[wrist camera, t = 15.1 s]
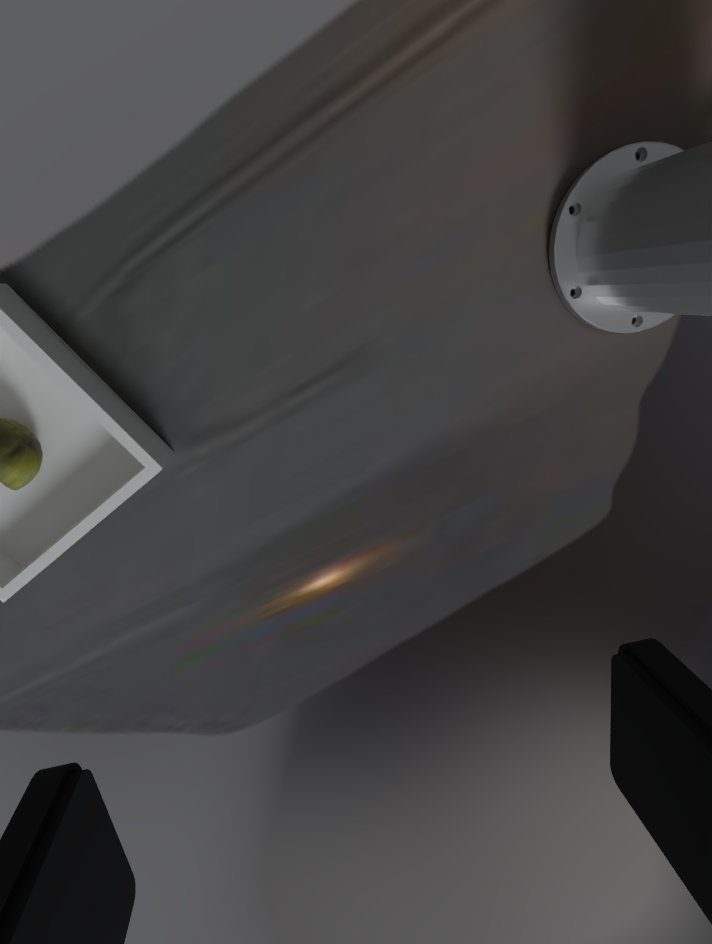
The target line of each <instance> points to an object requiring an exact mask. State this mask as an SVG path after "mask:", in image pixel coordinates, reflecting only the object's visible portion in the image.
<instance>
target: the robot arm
mask: <svg viewBox="0 0 712 944" xmlns="http://www.w3.org/2000/svg"><path fill="white" fill-rule="evenodd" d="M635 155H636V157H635ZM569 207H570V208H571V214H570V212H569ZM549 262H550V271H551V276H552V279H553V282H554V286H555V289H556V291H557V293H558V295H559V296H560V298H561V300H562V302H563V304H564V305H565V306H566V307H567V308H568V310H569V311H570V312H571V313H572V314H573V315H574V316H575V317H577V318H578V319H579V320H581V321H582V322H583V323H585V324H587V325H589V326H591V327H593V328H596V329H599V330H603V331H608V332H617V333H631V332H639V331H642V330H645V329H649V328H652V327H655V326H657V325H658V324H660V323H662V322H664V321H666V320H668V319H669V318H671V317H672V316H673V315H675V314H691V315H712V141H710V142H707V143H704V144H701V145H699V146H696V147H693V148H690V149H688V150H683V149H681V148H679V147H678V146H675V145H672V144H668V143H664V142H657V141H643V142H638V143H633V144H628V145H626V146H623V147H621V148H618V149H616V150H613V151H611V152H610V153H608V154H606V155H604V156H602V157H601V158H599V159H597V160H596V161H595V162H593V163H592V164H591V165H590V166H589V167H587V168H586V169H585V170H584V171H583V172H582V173H581V174H580V175H579V177H578V178H577V179H576V180H575V181H574V182H573V184H572V185H571V186H570V188H569V189H568V191H567V193H566V194H565V196H564V198H563V199H562V201H561V203H560V206H559V208H558V211H557V213H556V216H555V218H554V222H553V226H552V230H551V235H550V244H549ZM571 290H572V295H570V292H571ZM610 737H611V739H610V741H611V742H610V767H611V771H612V775H613V777H614V780H615V782H616V784H617V786H618V788H619V789H620V791H621V792H622V793H623V795H624V796H625V798H626V799H627V801H628V802H629V804H630V805H631V807H632V808H633V810H634V811H635V813H636V814H637V815H638V817H639V819H640V820H641V821H642V823H643V824H644V826H645V827H646V829H647V830H648V832H649V833H650V835H651V836H652V838H653V839H654V840H655V842H656V843H657V845H658V846H659V848H660V849H661V851H662V852H663V854H664V855H665V857H666V858H667V860H668V861H669V862H670V864H671V865H672V867H673V868H674V870H675V871H676V873H677V874H678V876H679V877H680V879H681V880H682V882H683V883H684V884H685V886H686V887H687V889H688V890H689V892H690V893H691V895H692V896H693V898H694V899H695V901H696V902H697V903H698V905H699V906H700V908H701V909H702V911H703V912H704V914H705V915H706V917H707V918H708V920H709V921H710V923H711V924H712V690H711V689H710V688H709V687H708V686H707V685H706V684H704V682H703V681H701V680H700V679H699V678H698V677H697V676H696V675H695V674H694V673H693V672H692V671H690V669H688V668H687V667H686V666H685V665H684V664H683V663H682V662H681V661H680V660H679V659H677V658H676V657H675V656H674V655H673V654H672V653H671V652H670V651H669V650H668V649H667V648H666V647H665V646H663V645H662V644H661V643H660V642H659V641H657V640H656V639H652V638H650V639H645V640H640V641H636V642H631V643H626V644H623V645H621V646H620V647H619V651H618V654H616V655H613V657H612V661H611V734H610ZM134 900H135V878H134V875H133V872H132V870H131V867H130V865H129V862H128V860H127V857H126V855H125V853H124V850H123V848H122V845H121V843H120V840H119V838H118V836H117V833H116V831H115V828H114V826H113V823H112V821H111V818H110V816H109V814H108V811H107V809H106V806H105V804H104V801H103V799H102V796H101V794H100V791H99V789H98V787H97V784H96V782H95V779H94V777H93V774H92V773H91V771H90V770H88V769H86V770H82V769H81V767H80V766H79V764H77V763H70V764H65V765H61V766H56V767H51V768H47V769H42V770H39V771H38V772H37V773H35V775H34V777H33V778H32V779H31V781H30V783H29V785H28V787H27V789H26V791H25V793H24V795H23V797H22V799H21V801H20V803H19V805H18V807H17V808H16V810H15V812H14V814H13V816H12V818H11V820H10V822H9V824H8V826H7V828H6V830H5V832H4V833H3V835H2V837H1V840H0V944H124V942H125V938H126V933H127V929H128V925H129V921H130V917H131V913H132V909H133V905H134Z"/></svg>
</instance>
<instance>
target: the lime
mask: <svg viewBox="0 0 712 944" xmlns="http://www.w3.org/2000/svg"><path fill="white" fill-rule="evenodd" d="M42 458H43V452H42V449H41V444H40V442H39V440H38V439H37V438H36V437H35V435H34V434H33V433H32V432H31V431H30V430H29V429H28V428H27V427H26V426H24V425H22V424H21V423H19V422H17V421H14V420H11V419H3V418H0V482H1V483H3V485H5V486H6V487H8V488H10V489H12V490H19V489H21V488H22V487H24V486H25V485H27V484H28V483H29V482H30V481H32V480H33V479H34V478H35V476H36V475H37V474H38V472H39V470H40V467H41V463H42Z"/></svg>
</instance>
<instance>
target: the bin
mask: <svg viewBox="0 0 712 944" xmlns="http://www.w3.org/2000/svg"><path fill="white" fill-rule="evenodd" d="M0 418H3V419H11V420H14V421H17V422H19V423H21V424H22V425H24V426H26V427H27V428H28V429H29V430H30V431H31V432H32V433H33V434H34V435H35V437H36V438H37V439H38V440H39V442H40V444H41V449H42V452H43V458H42V463H41V467H40V470H39V472H38V474H37V475H36V476H35V478H34V479H33V480H32V481H30V482H29V483H28V484H27V485H25V486H24V487H22V488H21V489H19V490H12V489H10V488H8V487H6V486H5V485H3V483H1V482H0V600H1V601H2V602H3V603H4V602H5V601H6V600H8V599H9V598H10V597H11V596H12V595H13V594H15V593H16V592H17V591H18V590H19V589H21V588H22V587H23V586H24V585H25V584H27V583H28V582H29V581H30V580H31V579H32V578H34V577H35V576H36V575H37V574H38V573H40V572H41V571H42V570H43V569H44V568H46V567H47V566H48V565H49V564H50V563H52V562H53V561H54V560H55V559H56V558H57V557H59V556H60V555H61V554H62V553H63V552H65V551H66V550H67V549H68V548H69V547H71V546H72V545H73V544H74V543H75V542H76V541H78V540H79V539H80V538H81V537H82V536H84V535H85V534H86V533H87V532H88V531H90V530H91V529H92V528H93V527H94V526H96V525H97V524H98V523H99V522H100V521H101V520H103V519H104V518H105V517H106V516H107V515H109V514H110V513H111V512H112V511H113V510H115V509H116V508H117V507H118V506H119V505H121V504H122V503H123V502H124V501H125V500H126V499H128V498H129V497H130V496H131V495H132V494H134V493H135V492H136V491H137V490H138V489H140V488H141V487H142V486H143V485H144V484H145V483H147V482H148V481H149V480H150V479H151V478H153V477H154V476H155V475H156V474H157V473H159V472H160V471H161V470H162V469H163V468H164V467H165V465H166V464H167V462H168V461H169V459H170V458H171V456H172V455H173V453H174V451H173V450H172V449H171V448H170V447H169V446H168V445H167V444H166V443H165V442H164V441H163V440H162V439H161V438H160V437H159V436H158V435H157V434H156V433H155V432H154V431H153V430H152V429H151V428H150V427H149V426H148V425H147V424H146V423H145V422H144V421H143V420H142V419H141V418H140V417H139V416H138V415H137V414H136V413H135V412H134V411H133V410H132V409H131V408H130V407H129V406H128V405H127V404H126V403H125V402H124V401H123V400H122V399H121V398H120V397H119V396H118V395H117V394H116V393H115V392H114V391H113V390H112V389H111V388H110V387H109V386H108V385H107V384H106V383H105V382H104V381H103V380H102V379H101V378H100V377H99V376H98V375H97V374H96V373H95V372H94V371H93V370H92V369H91V368H90V367H89V366H88V365H87V364H86V363H85V362H84V361H83V360H82V359H81V358H80V357H79V356H78V355H77V354H76V353H75V352H74V351H73V350H72V349H71V348H70V347H69V346H68V345H67V344H66V343H65V342H64V341H63V340H62V339H61V338H60V337H59V336H58V335H57V334H56V333H55V332H54V331H53V330H52V329H51V328H50V327H49V326H48V325H47V324H46V323H45V322H44V321H43V320H42V319H41V318H40V317H39V316H38V315H37V314H36V313H35V312H34V311H33V310H32V309H31V308H30V307H29V305H28V304H27V303H26V302H25V301H24V300H23V299H22V298H21V297H20V296H19V295H18V294H17V293H16V292H15V291H14V290H13V289H12V288H11V287H10V286H9V285H8V284H0Z"/></svg>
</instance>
